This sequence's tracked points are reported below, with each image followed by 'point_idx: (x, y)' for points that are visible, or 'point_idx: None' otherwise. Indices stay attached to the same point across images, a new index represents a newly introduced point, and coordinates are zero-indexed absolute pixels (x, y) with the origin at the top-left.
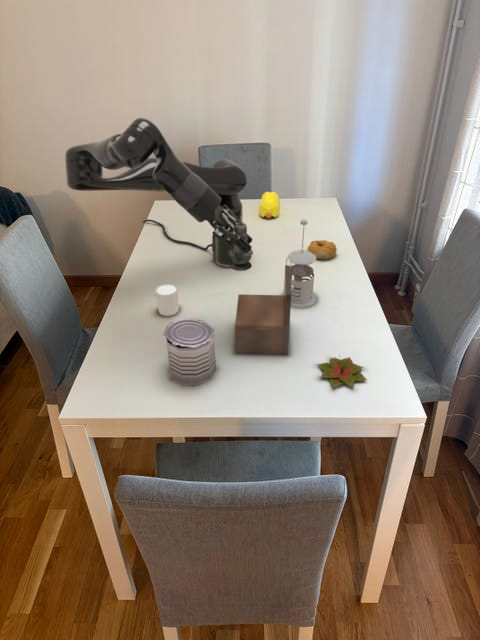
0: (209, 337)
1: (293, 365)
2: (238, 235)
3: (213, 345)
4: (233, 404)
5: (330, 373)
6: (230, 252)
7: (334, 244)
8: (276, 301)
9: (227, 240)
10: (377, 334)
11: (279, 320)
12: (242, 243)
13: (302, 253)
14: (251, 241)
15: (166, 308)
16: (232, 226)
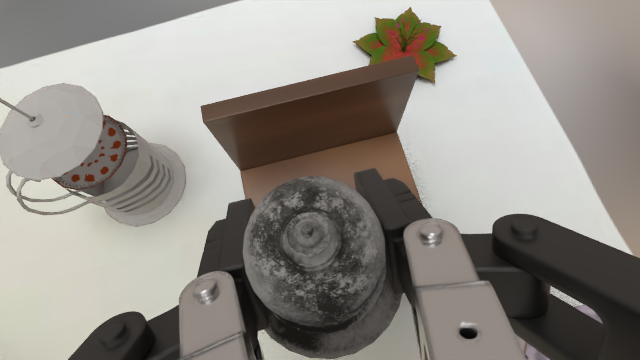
0: (595, 314)
1: (410, 138)
2: (437, 237)
3: None
4: (584, 224)
5: (418, 64)
6: (353, 338)
7: None
8: (280, 182)
9: (558, 328)
10: (256, 11)
11: (375, 150)
12: (424, 210)
13: (43, 117)
14: (253, 205)
15: None
16: (488, 307)
